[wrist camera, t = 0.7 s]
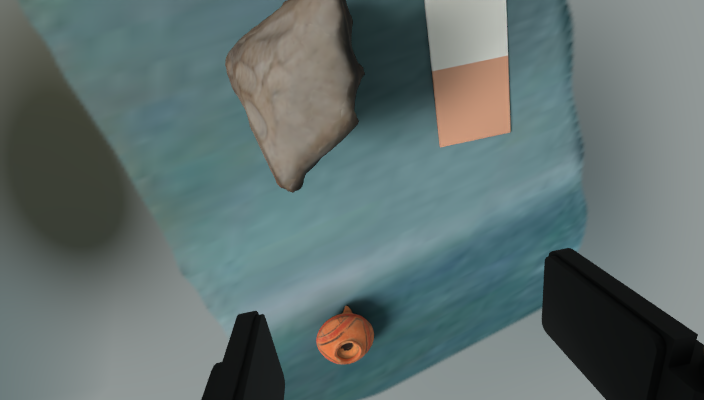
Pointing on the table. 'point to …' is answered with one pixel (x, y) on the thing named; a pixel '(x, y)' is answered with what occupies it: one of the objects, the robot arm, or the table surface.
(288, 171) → the brown owl figurine
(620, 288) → the robot arm
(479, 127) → the board
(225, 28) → the table surface
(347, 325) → the pot
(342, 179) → the table surface
